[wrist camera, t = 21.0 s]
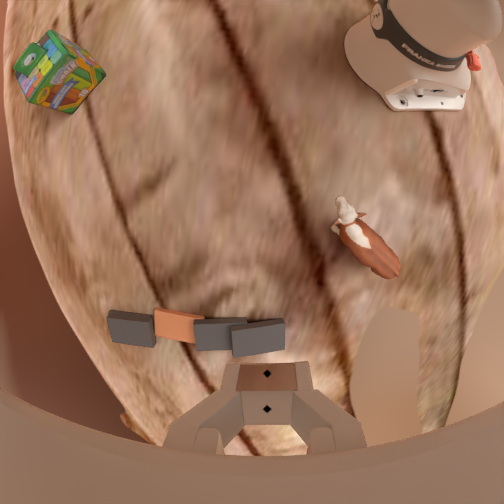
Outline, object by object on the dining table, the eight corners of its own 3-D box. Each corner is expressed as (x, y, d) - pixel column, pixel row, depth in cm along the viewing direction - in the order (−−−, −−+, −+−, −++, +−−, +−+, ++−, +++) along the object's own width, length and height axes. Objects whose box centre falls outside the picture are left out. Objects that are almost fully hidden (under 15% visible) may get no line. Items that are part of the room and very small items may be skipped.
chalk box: (72, 115, 35) (11, 102, 21) (53, 87, 34) (-2, 71, 19) (109, 74, 33) (54, 44, 19) (87, 48, 32) (36, 20, 18)
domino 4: (247, 322, 41) (193, 324, 40) (247, 348, 42) (196, 350, 41) (246, 317, 42) (194, 319, 41) (246, 343, 44) (196, 345, 43)
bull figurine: (333, 188, 37) (350, 191, 29) (389, 255, 39) (414, 272, 31) (310, 210, 38) (322, 218, 30) (369, 275, 40) (390, 296, 32)
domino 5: (285, 323, 41) (231, 331, 39) (284, 349, 42) (233, 357, 40) (281, 318, 42) (229, 325, 40) (281, 344, 43) (231, 352, 42)
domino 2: (148, 322, 41) (106, 317, 41) (153, 347, 42) (112, 342, 42) (152, 317, 42) (110, 313, 43) (156, 342, 43) (116, 337, 44)
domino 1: (149, 317, 42) (108, 312, 43) (153, 342, 43) (113, 336, 44) (153, 313, 44) (112, 308, 44) (156, 337, 45) (117, 331, 45)
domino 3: (203, 319, 42) (154, 310, 42) (201, 344, 43) (155, 335, 43) (205, 314, 43) (157, 305, 43) (203, 339, 44) (158, 330, 44)
